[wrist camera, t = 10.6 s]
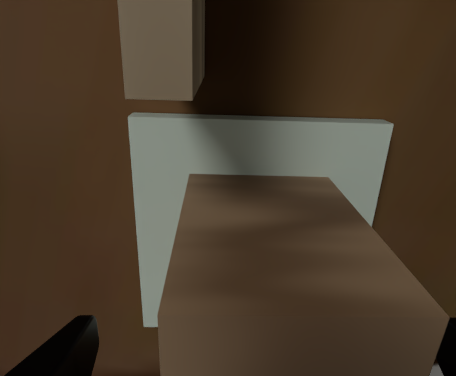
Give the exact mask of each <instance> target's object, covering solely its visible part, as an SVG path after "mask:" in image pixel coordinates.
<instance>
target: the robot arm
mask: <svg viewBox="0 0 456 376" xmlns="http://www.w3.org/2000/svg"><path fill="white" fill-rule="evenodd" d="M98 348H99V336H98V328H97V321H96V318H95V316H93V315H79V316H77V317H75V318H74V319H73V320H72V321H71V322H69V323H68V324H67V325H66V326H64V327H63V328H62V329H61V330H59V331H58V332H57V333H56V334H55V335H53V336H52V337H51V338H50V339H48V340H47V341H46V342H45V343H44V344H42V345H41V346H40V347H39V348H37V349H36V350H35V351H34V352H32V353H31V354H30V355H29V356H28V357H26V358H25V359H24V360H23V361H21V362H20V363H19V364H18V365H16V366H15V367H14V368H13V369H12V370H10V371H9V372H8V373H7V374H5V375H4V376H91V375H92V371H93V367H94V364H95V360H96V356H97V352H98ZM436 359H437V362H438V364H439V366H440V368H441V371H442V373H443V375H444V376H456V318H449V321H448V324H447V327H446V330H445V332H444V335H443V338H442V341H441V344H440V347H439V349H438V352H437V355H436Z"/></svg>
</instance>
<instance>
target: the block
mask: <svg viewBox="0 0 456 376" xmlns="http://www.w3.org/2000/svg"><path fill="white" fill-rule="evenodd" d="M157 318H158V337H159V356H160V375H161V376H429V375H430V372H431V369H432V366H433V364H434V361H435V358H436V355H437V352H438V349H439V347H440V344H441V341H442V338H443V335H444V332H445V330H446V327H447V324H448V321H449V318H450V317H449V316H448V315H447V314H446V313H445V311H444V310H443V309H442V308H441V307H440V306H439V305H438V303H437V302H436V301H435V300H434V299H433V298H432V296H431V295H430V294H429V293H428V292H427V291H426V289H425V288H424V287H423V286H422V285H421V284H420V283H419V281H418V280H417V279H416V278H415V277H414V276H413V274H412V273H411V272H410V271H409V270H408V269H407V268H406V266H405V265H404V264H403V263H402V262H401V261H400V259H399V258H398V257H397V256H396V255H395V254H394V252H393V251H392V250H391V249H390V248H389V247H388V246H387V244H386V243H385V242H384V241H383V240H382V239H381V237H380V236H379V235H378V234H377V233H376V232H375V230H374V229H373V228H372V227H371V226H370V225H369V224H368V222H367V221H366V220H365V219H364V218H363V217H362V215H361V214H360V213H359V212H358V211H357V210H356V209H355V207H354V206H353V205H352V204H351V203H350V202H349V200H348V199H347V198H346V197H345V196H344V195H343V193H342V192H341V191H340V190H339V189H338V188H337V187H336V185H335V184H334V183H333V182H332V181H331V180H330V178H329V177H307V176H265V175H223V174H189V178H188V182H187V187H186V191H185V195H184V200H183V204H182V209H181V213H180V217H179V222H178V226H177V231H176V235H175V240H174V244H173V248H172V253H171V257H170V262H169V266H168V270H167V275H166V279H165V284H164V288H163V293H162V297H161V301H160V306H159V310H158V315H157Z"/></svg>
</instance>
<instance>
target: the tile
mask: <svg viewBox="0 0 456 376" xmlns="http://www.w3.org/2000/svg"><path fill="white" fill-rule="evenodd" d="M393 125H394V124H392V123H390V122H388V121H385V120H379V119H344V118H308V117H273V116H238V115H203V114H167V113H132V114H131V115H129V116H128V126H129V139H130V152H131V165H132V178H133V192H134V205H135V218H136V231H137V244H138V257H139V271H140V284H141V297H142V310H143V323H144V327H158V318H157V315H158V310H159V306H160V301H161V297H162V293H163V288H164V284H165V279H166V275H167V270H168V266H169V262H170V257H171V253H172V248H173V244H174V240H175V235H176V231H177V226H178V222H179V217H180V213H181V209H182V204H183V200H184V195H185V191H186V187H187V182H188V178H189V174H223V175H265V176H307V177H329V178H330V180H331V181H332V182H333V183H334V184H335V185H336V187H337V188H338V189H339V190H340V191H341V192H342V193H343V195H344V196H345V197H346V198H347V199H348V200H349V202H350V203H351V204H352V205H353V206H354V207H355V209H356V210H357V211H358V212H359V213H360V214H361V215H362V217H363V218H364V219H365V220H366V221H367V222H368V224H369V225H370V226H371V227H372V223H373V218H374V214H375V209H376V204H377V200H378V195H379V190H380V186H381V181H382V176H383V172H384V167H385V162H386V158H387V153H388V148H389V144H390V139H391V134H392V130H393Z"/></svg>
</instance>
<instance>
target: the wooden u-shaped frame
mask: <svg viewBox="0 0 456 376" xmlns="http://www.w3.org/2000/svg"><path fill="white" fill-rule="evenodd" d="M118 13H119V26H120V39H121V52H122V64H123V77H124V90H125V99H148V100H182V101H193V99H194V97H195V95H196V93H197V91H198V88H199V86H200V84H201V82H202V80H203V78H204V65H205V0H118Z"/></svg>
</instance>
